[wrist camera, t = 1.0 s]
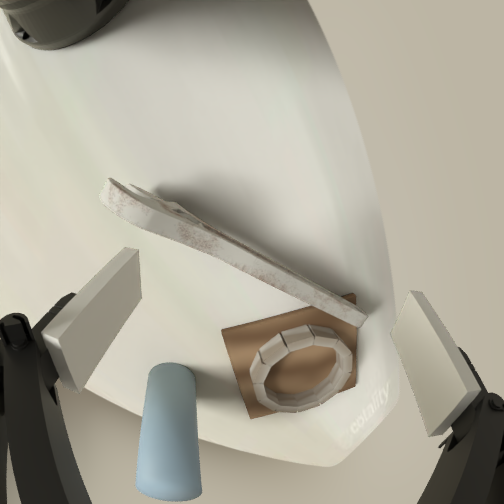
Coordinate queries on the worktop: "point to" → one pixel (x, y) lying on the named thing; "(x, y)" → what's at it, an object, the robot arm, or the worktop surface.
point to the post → (169, 436)
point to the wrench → (220, 246)
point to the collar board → (292, 359)
